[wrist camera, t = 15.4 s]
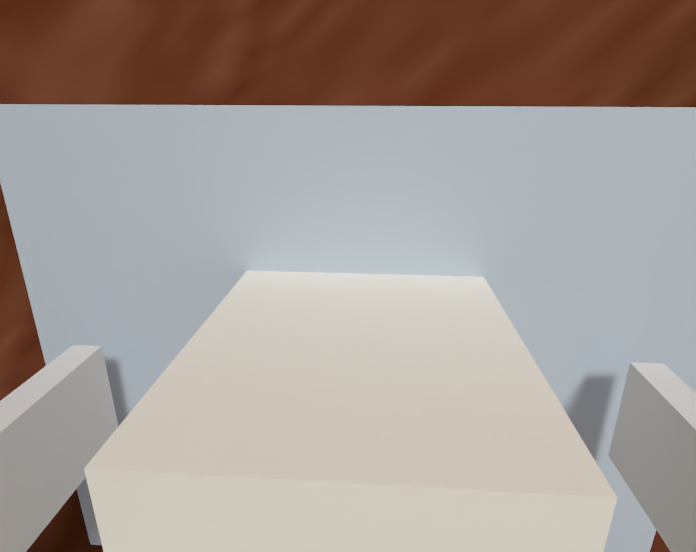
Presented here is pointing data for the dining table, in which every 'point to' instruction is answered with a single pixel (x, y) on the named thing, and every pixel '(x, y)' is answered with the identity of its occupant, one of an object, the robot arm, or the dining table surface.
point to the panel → (365, 231)
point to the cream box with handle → (351, 430)
